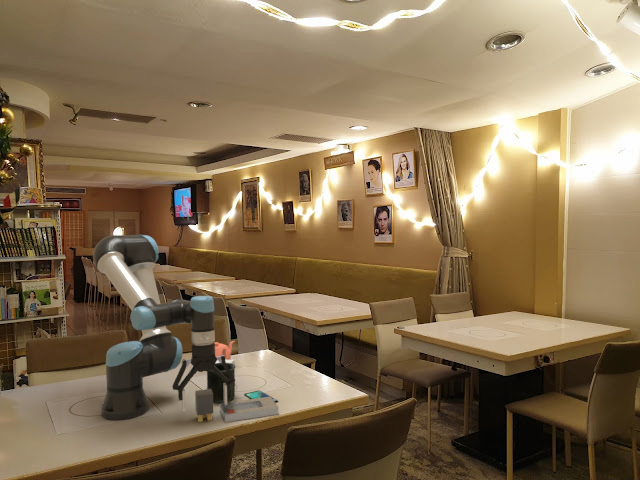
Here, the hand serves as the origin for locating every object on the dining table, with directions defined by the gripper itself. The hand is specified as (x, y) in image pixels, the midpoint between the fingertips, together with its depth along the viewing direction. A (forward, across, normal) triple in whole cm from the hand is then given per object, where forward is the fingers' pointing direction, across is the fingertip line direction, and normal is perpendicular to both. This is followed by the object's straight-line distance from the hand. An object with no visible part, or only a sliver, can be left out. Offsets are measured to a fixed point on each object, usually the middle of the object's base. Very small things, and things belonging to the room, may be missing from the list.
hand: (205, 406), depth 156 cm
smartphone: (+5, +22, +12) cm, 26 cm away
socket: (+4, +15, 0) cm, 15 cm away
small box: (+4, +11, +30) cm, 33 cm away
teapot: (+4, +13, +60) cm, 62 cm away
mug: (+4, +8, +19) cm, 21 cm away
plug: (+4, 0, 0) cm, 4 cm away
